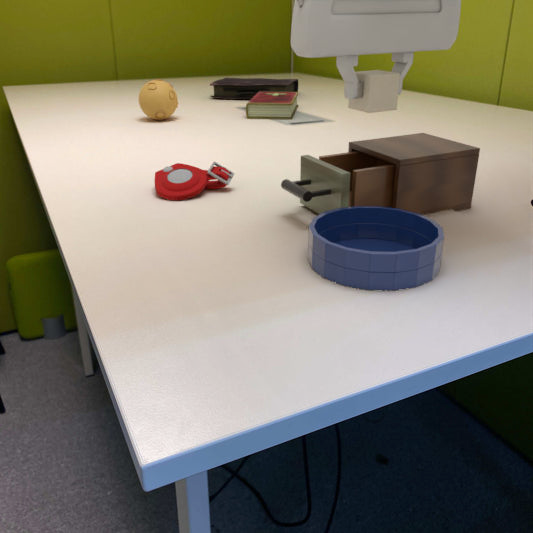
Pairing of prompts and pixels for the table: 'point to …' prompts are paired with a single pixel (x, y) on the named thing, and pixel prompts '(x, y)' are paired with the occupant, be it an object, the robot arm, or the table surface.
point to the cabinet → (426, 171)
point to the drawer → (343, 181)
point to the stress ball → (158, 99)
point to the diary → (251, 87)
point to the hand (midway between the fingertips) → (373, 96)
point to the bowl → (375, 247)
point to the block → (377, 91)
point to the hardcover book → (272, 105)
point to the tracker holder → (189, 180)
